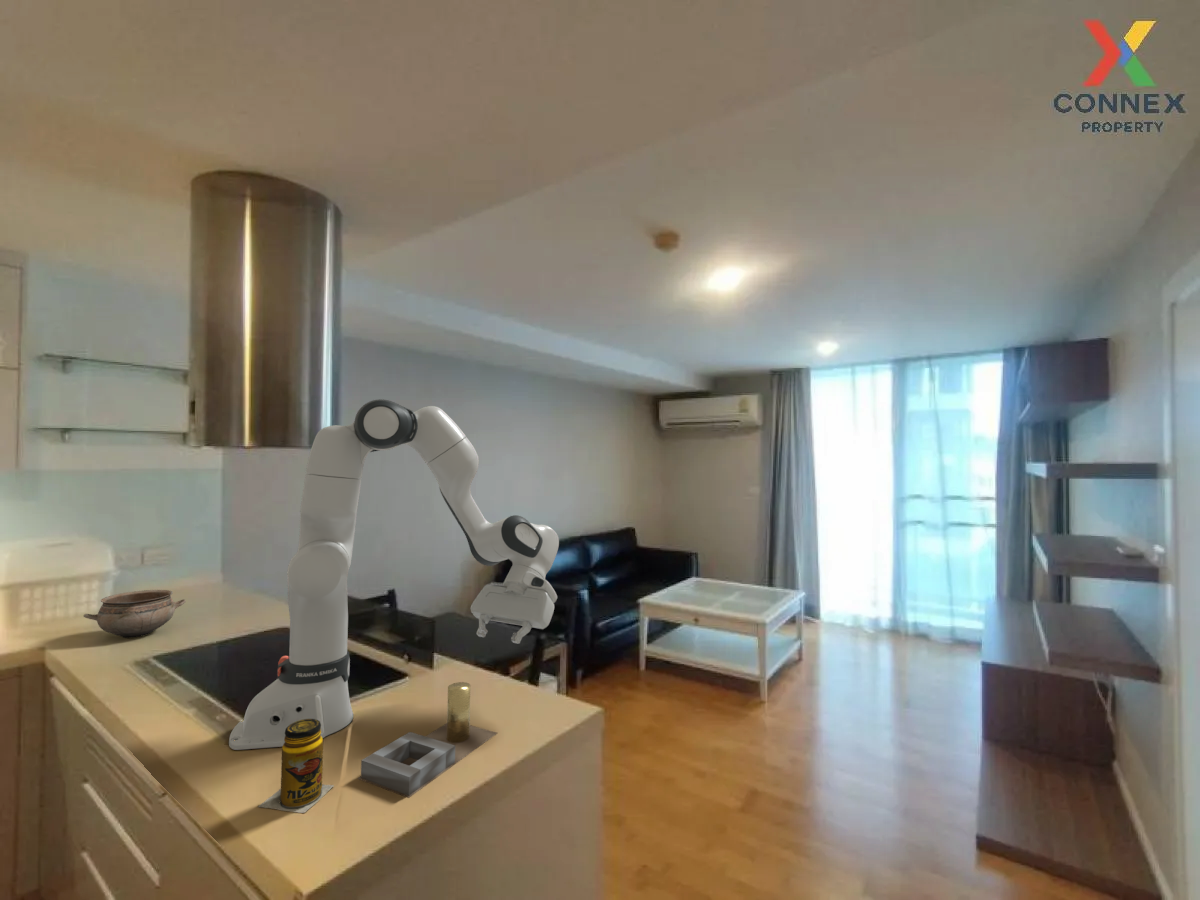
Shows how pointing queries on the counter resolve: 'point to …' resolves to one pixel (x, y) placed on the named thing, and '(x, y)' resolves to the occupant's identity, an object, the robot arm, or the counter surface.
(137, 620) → the cooking pot
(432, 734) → the jig
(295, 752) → the condiment
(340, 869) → the counter surface
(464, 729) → the translucent yellow cylinder
